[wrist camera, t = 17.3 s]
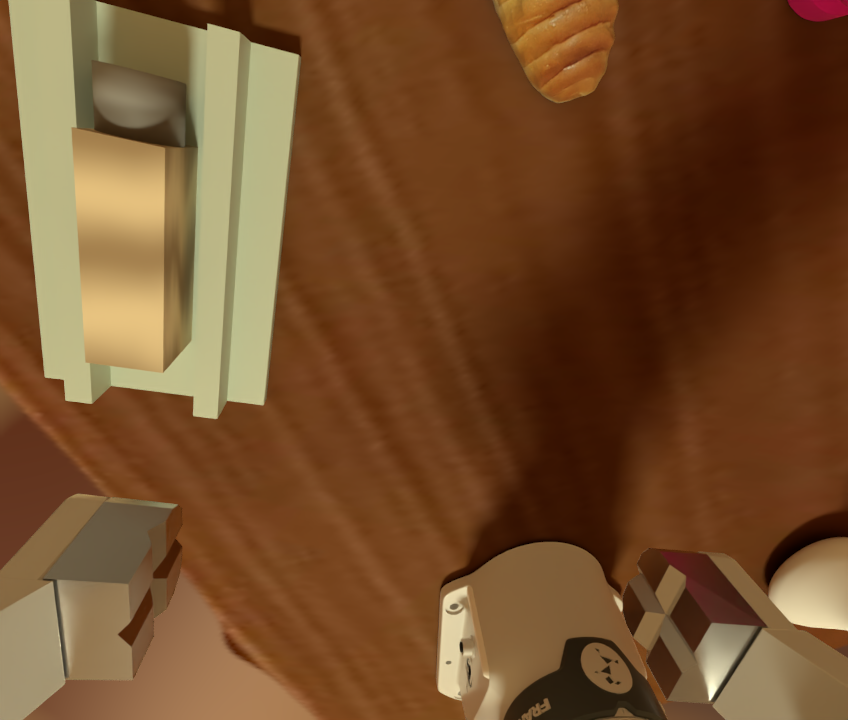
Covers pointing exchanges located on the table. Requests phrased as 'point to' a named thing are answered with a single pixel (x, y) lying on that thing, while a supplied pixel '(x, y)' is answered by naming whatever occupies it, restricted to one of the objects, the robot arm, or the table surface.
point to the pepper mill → (819, 9)
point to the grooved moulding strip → (215, 201)
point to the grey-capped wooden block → (135, 220)
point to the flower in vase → (814, 585)
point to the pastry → (560, 42)
